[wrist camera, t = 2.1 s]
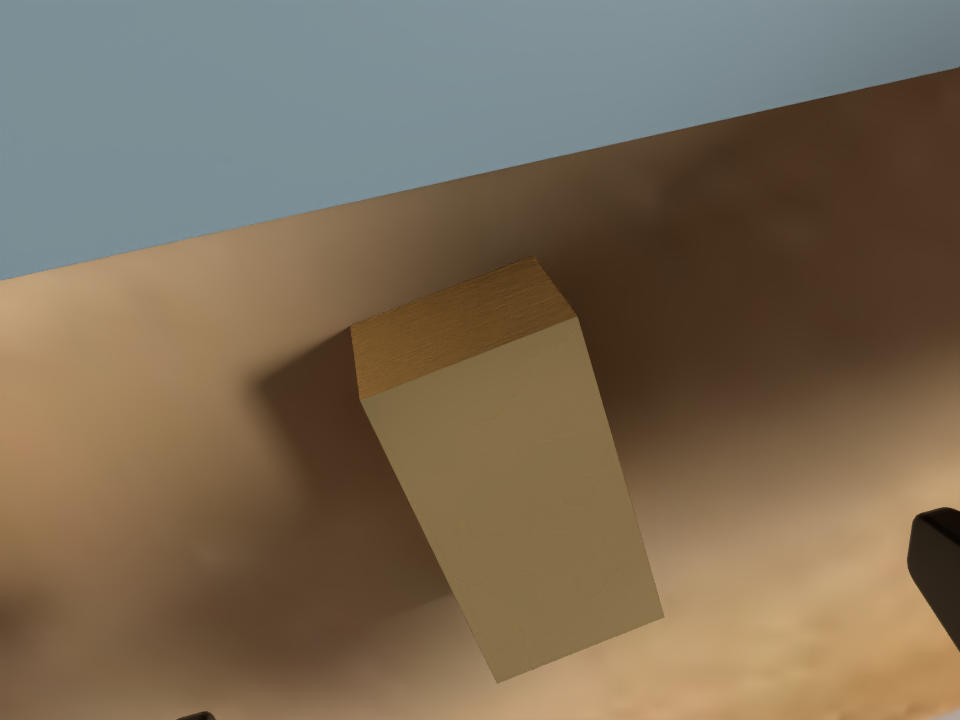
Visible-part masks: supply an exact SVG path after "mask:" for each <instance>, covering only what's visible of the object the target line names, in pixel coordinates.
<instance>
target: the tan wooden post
mask: <svg viewBox="0 0 960 720" xmlns="http://www.w3.org/2000/svg"><path fill="white" fill-rule="evenodd" d="M350 328H351V336H352V344H353V352H354V359H355V367H356V375H357V383H358V390H359V398H360V402H361V404H362V406H363V408H364V410H365V412H366V414H367V417H368V419H369V421H370V423H371V425H372V427H373V429H374V431H375V433H376V435H377V437H378V439H379V441H380V443H381V445H382V447H383V449H384V452H385V454H386V456H387V458H388V460H389V462H390V464H391V466H392V468H393V470H394V472H395V474H396V476H397V478H398V480H399V482H400V484H401V487H402V489H403V491H404V493H405V495H406V497H407V499H408V501H409V503H410V505H411V507H412V509H413V511H414V513H415V515H416V517H417V520H418V522H419V524H420V526H421V528H422V530H423V532H424V534H425V536H426V538H427V540H428V542H429V544H430V546H431V548H432V550H433V552H434V555H435V557H436V559H437V561H438V563H439V565H440V567H441V569H442V571H443V573H444V575H445V577H446V579H447V581H448V583H449V585H450V587H451V590H452V592H453V594H454V596H455V598H456V600H457V602H458V604H459V606H460V608H461V610H462V612H463V614H464V616H465V618H466V620H467V622H468V625H469V627H470V629H471V631H472V633H473V635H474V637H475V639H476V641H477V643H478V645H479V647H480V649H481V651H482V653H483V655H484V658H485V660H486V662H487V664H488V666H489V668H490V670H491V672H492V674H493V676H494V678H495V680H496V682H497V683H499V682H502V681H504V680H507V679H510V678H512V677H515V676H517V675H520V674H522V673H525V672H527V671H530V670H532V669H535V668H537V667H540V666H542V665H545V664H547V663H550V662H552V661H555V660H558V659H560V658H563V657H565V656H568V655H570V654H573V653H575V652H578V651H580V650H583V649H585V648H588V647H590V646H593V645H595V644H598V643H600V642H603V641H605V640H608V639H611V638H613V637H616V636H618V635H621V634H623V633H626V632H628V631H631V630H633V629H636V628H638V627H641V626H643V625H646V624H648V623H651V622H653V621H656V620H658V619H661V618H664V614H663V610H662V607H661V603H660V600H659V596H658V593H657V589H656V586H655V582H654V579H653V576H652V572H651V569H650V565H649V562H648V558H647V555H646V551H645V548H644V544H643V541H642V538H641V534H640V531H639V527H638V524H637V520H636V517H635V513H634V510H633V506H632V503H631V500H630V496H629V493H628V489H627V486H626V482H625V479H624V475H623V472H622V468H621V465H620V462H619V458H618V455H617V451H616V448H615V444H614V441H613V437H612V434H611V430H610V427H609V423H608V420H607V417H606V413H605V410H604V406H603V403H602V399H601V396H600V392H599V389H598V385H597V382H596V379H595V375H594V372H593V368H592V365H591V361H590V358H589V354H588V351H587V347H586V344H585V341H584V337H583V334H582V330H581V327H580V323H579V320H578V316H577V315H576V314H575V312H574V311H573V309H572V308H571V307H570V305H569V304H568V303H567V301H566V300H565V299H564V297H563V296H562V294H561V293H560V292H559V290H558V289H557V288H556V286H555V285H554V283H553V282H552V281H551V279H550V278H549V277H548V275H547V274H546V272H545V271H544V270H543V268H542V267H541V266H540V264H539V263H538V261H537V260H536V259H535V257H534V256H531V257H528V258H525V259H523V260H520V261H518V262H515V263H512V264H510V265H507V266H505V267H502V268H499V269H497V270H494V271H492V272H489V273H486V274H484V275H481V276H479V277H476V278H473V279H471V280H468V281H466V282H463V283H460V284H458V285H455V286H453V287H450V288H447V289H445V290H442V291H440V292H437V293H434V294H432V295H429V296H427V297H424V298H421V299H419V300H416V301H414V302H411V303H408V304H406V305H403V306H401V307H398V308H395V309H393V310H390V311H387V312H385V313H382V314H380V315H377V316H374V317H372V318H369V319H367V320H364V321H361V322H359V323H356V324H354V325H351V326H350Z"/></svg>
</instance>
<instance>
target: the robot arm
mask: <svg viewBox="0 0 960 720" xmlns="http://www.w3.org/2000/svg"><path fill="white" fill-rule="evenodd" d="M907 564H908V569H909V572H910V575H911V577H912V579H913V581H914V582H915V584H916V585H917V587H918V588H919V590H920V592H921V593H922V595H923V596H924V598H925V599H926V601H927V602H928V604H929V605H930V607H931V609H932V610H933V612H934V613H935V615H936V616H937V618H938V619H939V621H940V622H941V624H942V626H943V627H944V629H945V630H946V632H947V633H948V635H949V636H950V638H951V639H952V641H953V643H954V644H955V646H956V647H957V649H958V650H959V652H960V511H958V510H955V509H952V508H948V507H942V508H938V509H934V510H930V511H927V512H923V513H920V514H918V515H917V516H916V517H915V518H914V520H913V522H912V528H911V535H910V542H909V549H908V556H907ZM177 720H216V719H215V718H214V716H213V715H212V714H211V713H210V712H207V711H205V712H204V711H203V712H200V713H196V714H192V715H189V716H185V717H181V718H179V719H177Z"/></svg>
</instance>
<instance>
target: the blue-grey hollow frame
mask: <svg viewBox="0 0 960 720" xmlns="http://www.w3.org/2000/svg"><path fill="white" fill-rule="evenodd" d="M958 67H960V0H0V281H1V280H5V279H10V278H14V277H19V276H23V275H28V274H32V273H37V272H41V271H46V270H50V269H54V268H59V267H63V266H68V265H72V264H77V263H81V262H86V261H90V260H95V259H99V258H104V257H108V256H113V255H117V254H122V253H126V252H131V251H135V250H140V249H144V248H149V247H153V246H158V245H162V244H167V243H171V242H176V241H180V240H185V239H189V238H194V237H198V236H203V235H207V234H212V233H216V232H221V231H225V230H230V229H234V228H239V227H243V226H248V225H252V224H257V223H261V222H266V221H270V220H275V219H279V218H284V217H288V216H293V215H297V214H302V213H306V212H311V211H315V210H320V209H324V208H329V207H333V206H338V205H342V204H347V203H351V202H356V201H360V200H365V199H369V198H374V197H378V196H383V195H387V194H392V193H396V192H401V191H405V190H410V189H414V188H419V187H423V186H428V185H432V184H437V183H441V182H446V181H450V180H455V179H459V178H464V177H468V176H473V175H477V174H482V173H486V172H491V171H495V170H500V169H504V168H509V167H513V166H518V165H522V164H527V163H531V162H536V161H540V160H545V159H549V158H554V157H558V156H562V155H567V154H571V153H576V152H580V151H585V150H589V149H594V148H598V147H603V146H607V145H612V144H616V143H621V142H625V141H630V140H634V139H639V138H643V137H648V136H652V135H657V134H661V133H666V132H670V131H675V130H679V129H684V128H688V127H693V126H697V125H702V124H706V123H711V122H715V121H720V120H724V119H729V118H733V117H738V116H742V115H747V114H751V113H756V112H760V111H765V110H769V109H774V108H778V107H783V106H787V105H792V104H796V103H801V102H805V101H810V100H814V99H819V98H823V97H828V96H832V95H837V94H841V93H846V92H850V91H855V90H859V89H864V88H868V87H873V86H877V85H882V84H886V83H891V82H895V81H900V80H904V79H909V78H913V77H918V76H922V75H927V74H931V73H936V72H940V71H945V70H949V69H954V68H958Z"/></svg>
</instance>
